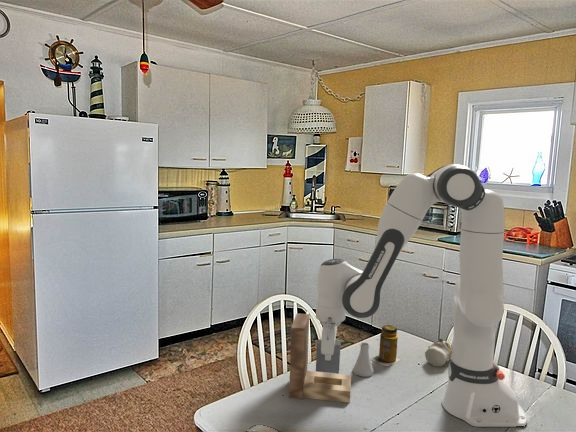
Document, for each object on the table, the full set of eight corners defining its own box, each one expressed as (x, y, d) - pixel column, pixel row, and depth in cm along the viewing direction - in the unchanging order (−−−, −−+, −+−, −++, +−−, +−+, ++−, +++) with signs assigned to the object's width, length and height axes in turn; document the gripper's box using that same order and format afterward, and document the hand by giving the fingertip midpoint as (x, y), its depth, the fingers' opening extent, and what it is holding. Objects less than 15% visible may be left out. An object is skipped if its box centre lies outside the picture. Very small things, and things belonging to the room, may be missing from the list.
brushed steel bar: (339, 369, 142) (340, 341, 140) (338, 373, 139) (340, 345, 137) (316, 366, 143) (317, 339, 141) (315, 371, 140) (316, 343, 138)
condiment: (401, 359, 165) (403, 327, 163) (387, 367, 159) (389, 334, 157) (383, 353, 170) (385, 322, 168) (370, 359, 164) (372, 327, 162)
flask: (373, 378, 150) (375, 349, 149) (351, 376, 152) (353, 347, 150) (374, 368, 157) (376, 340, 156) (353, 366, 159) (354, 338, 157)
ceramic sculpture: (419, 339, 161) (434, 329, 173) (416, 363, 162) (432, 351, 174) (449, 348, 154) (463, 337, 166) (446, 373, 155) (460, 360, 167)
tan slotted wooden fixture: (350, 384, 146) (354, 317, 143) (349, 404, 135) (353, 332, 131) (294, 378, 149) (296, 313, 146) (289, 397, 137) (291, 327, 134)
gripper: (339, 326, 127) (337, 373, 129) (342, 302, 147) (340, 343, 149) (316, 324, 128) (314, 371, 130) (322, 300, 148) (320, 341, 150)
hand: (328, 356), depth 140 cm, fingers closed on brushed steel bar, 3 cm apart
